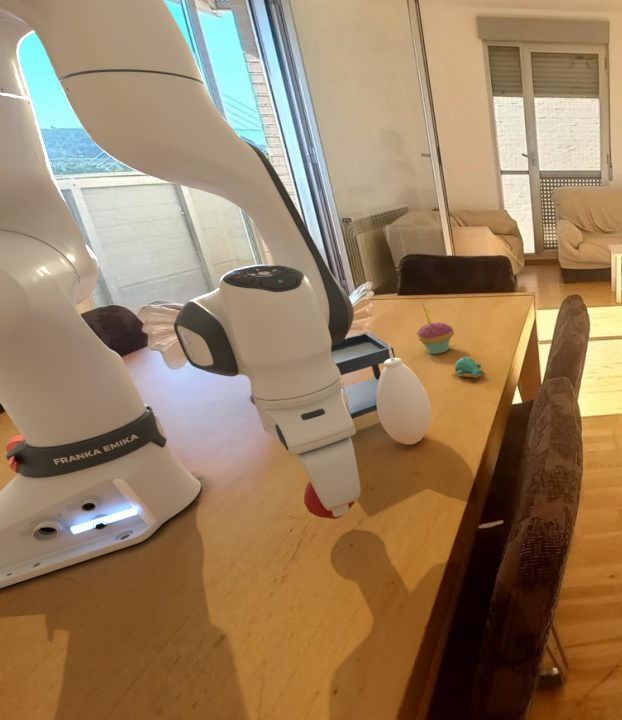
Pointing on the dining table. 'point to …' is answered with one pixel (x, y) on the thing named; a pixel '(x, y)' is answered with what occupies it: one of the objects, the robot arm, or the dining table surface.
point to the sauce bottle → (402, 402)
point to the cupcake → (435, 335)
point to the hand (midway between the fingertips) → (333, 498)
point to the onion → (317, 503)
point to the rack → (358, 356)
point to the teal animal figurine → (468, 368)
